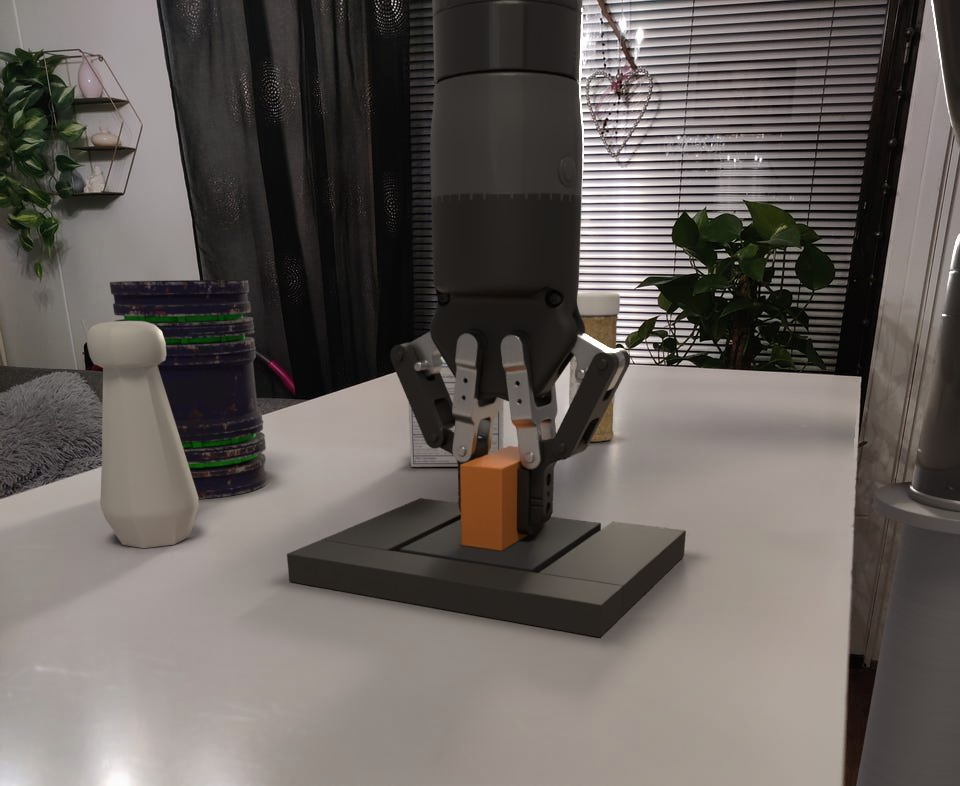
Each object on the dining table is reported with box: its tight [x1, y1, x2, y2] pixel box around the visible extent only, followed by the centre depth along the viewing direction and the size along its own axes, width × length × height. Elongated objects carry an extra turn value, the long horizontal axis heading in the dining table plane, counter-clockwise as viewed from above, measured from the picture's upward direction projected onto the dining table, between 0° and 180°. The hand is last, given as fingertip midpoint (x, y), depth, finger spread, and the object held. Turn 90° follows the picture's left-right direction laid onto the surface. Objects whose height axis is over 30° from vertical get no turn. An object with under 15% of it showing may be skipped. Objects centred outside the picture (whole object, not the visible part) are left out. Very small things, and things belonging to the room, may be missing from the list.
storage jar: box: [109, 279, 268, 500], centre depth 69 cm, size 10×10×15 cm
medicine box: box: [408, 356, 505, 468], centre depth 77 cm, size 8×4×9 cm, turn 88°
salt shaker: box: [86, 320, 199, 549], centre depth 55 cm, size 6×6×13 cm
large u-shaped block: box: [286, 497, 687, 638], centre depth 51 cm, size 14×18×2 cm
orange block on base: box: [400, 445, 602, 573], centre depth 51 cm, size 10×8×6 cm
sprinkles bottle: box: [568, 291, 621, 443], centre depth 86 cm, size 5×5×14 cm
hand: (504, 526), depth 52 cm, fingers closed on orange block on base, 2 cm apart
